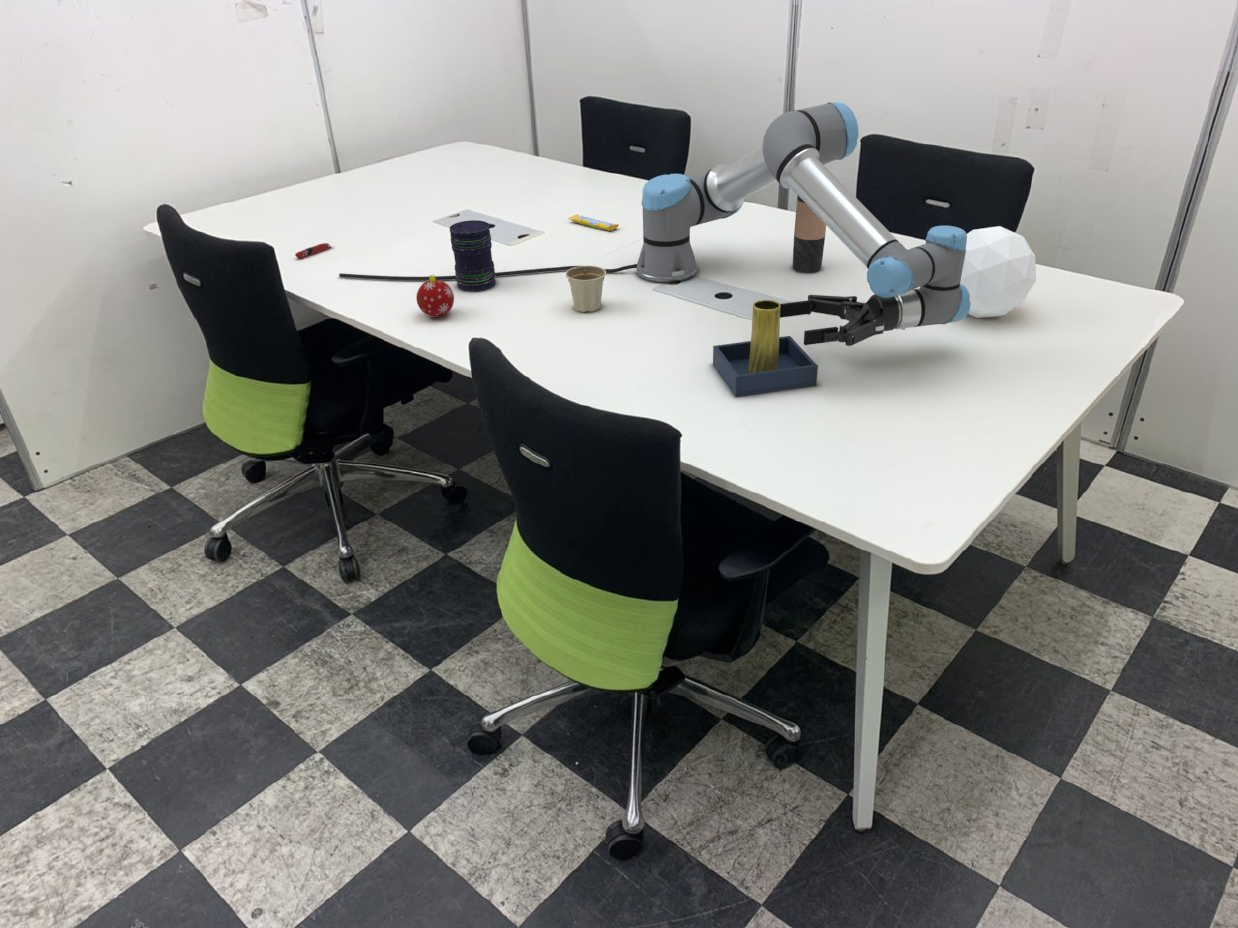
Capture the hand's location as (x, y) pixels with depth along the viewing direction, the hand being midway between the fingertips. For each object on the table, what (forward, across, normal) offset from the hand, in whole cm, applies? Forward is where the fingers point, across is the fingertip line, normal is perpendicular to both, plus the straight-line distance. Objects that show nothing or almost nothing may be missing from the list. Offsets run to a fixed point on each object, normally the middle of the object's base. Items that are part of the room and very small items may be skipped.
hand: (791, 324), depth 183 cm
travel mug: (-25, +53, -10) cm, 59 cm away
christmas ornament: (+68, +50, -10) cm, 85 cm away
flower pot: (+33, +44, -10) cm, 56 cm away
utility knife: (+99, +105, -10) cm, 145 cm away
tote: (+5, 0, -10) cm, 12 cm away
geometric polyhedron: (-52, +15, -10) cm, 55 cm away
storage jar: (+57, +67, -10) cm, 89 cm away
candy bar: (+20, +104, -10) cm, 106 cm away
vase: (+5, 0, -10) cm, 11 cm away
